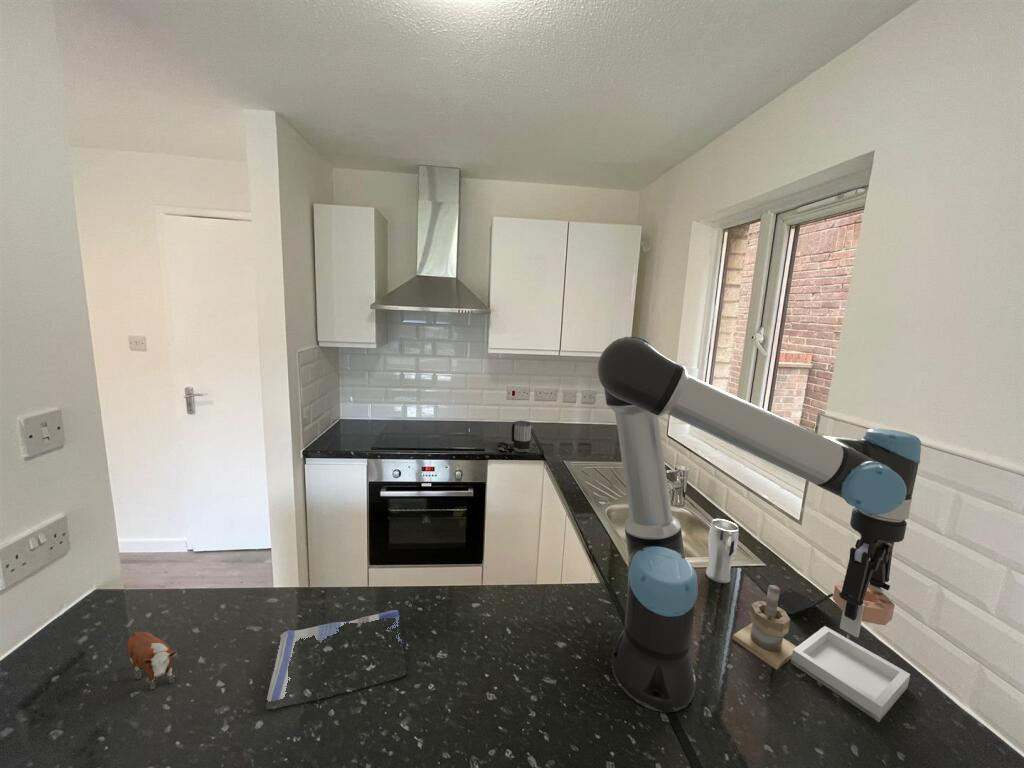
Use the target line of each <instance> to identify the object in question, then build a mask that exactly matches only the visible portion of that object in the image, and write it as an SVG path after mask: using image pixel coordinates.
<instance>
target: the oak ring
mask: <svg viewBox="0 0 1024 768" xmlns="http://www.w3.org/2000/svg"><path fill="white" fill-rule="evenodd" d="M765 606H766V601H762V600H757V601H756V602H753V603H751V606H750V613H749V619H750V621H751V623H753V625H754V626H755V627H757V628H758V629H760V630H761V631H763V632H764V633H766V634H768V635H773V636H778V637H782V636H783V637H785V635H787V634H788V633H789V631H790V630H789V628H790V624H791V623H790V622H791V618H790V617H788V615H787V613H786V612H785V611H784V610H783V609H781V608H779V607H778V606H777V611H776V618H770V617H768V616H766V615H765V614H764V612H765Z"/></svg>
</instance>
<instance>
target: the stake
mask: <svg viewBox="0 0 1024 768" xmlns="http://www.w3.org/2000/svg"><path fill="white" fill-rule="evenodd" d="M780 592H781V589H780V588H779V586H777V585H773V584H768V587H767V595H766V601H765V602H766V606H765V612H764V614H765V615H766V616H768V617H770V618H776V611H777V605H778V599H779V594H781V593H780ZM732 640H733V641H734V642H737V643H738V644H739V645H741V646H742V647H743V648H745V649H746V650H748V651H749V652H750V653H752V654H753V655H755V656H757V658H759V659H760V660H762V661H763V662H765V663H766V664H767V665H769V666H770V667H772V668H773V669H774V670H778V669H780V668H781V667H782V666H784V665H785V664H786V663H788V662H789V661H791V658H792V652H793V649H795V648H796V647H797V646H798V645H795V644H793V643H791V641H789V640H787V639H785V638H784V636H782V637H778V636H773V635H768V634H766V633H764V632H763V631H761V630H760V629H758V628H757V627H755V626H754V625H753V623H752V622H751V623H749V624H748V625H746V626H745V627H743V628H742V629H740V630H739V631H738V630H737V632H735V633H734V634H732Z"/></svg>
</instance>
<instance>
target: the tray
mask: <svg viewBox="0 0 1024 768" xmlns="http://www.w3.org/2000/svg"><path fill="white" fill-rule="evenodd" d="M796 646H797V647H796V648H795V649H793V652H792V658H791V659H790V663H791V664H792V665H793V666H795V667H796V668H797V669H799V670H800V671H802V672H804V673H806V675H808V676H810V677H811V678H812V679H814V680H815V681H817V682H818V683H820V684H821V685H823V686H825V688H828V689H829V691H832V692H833V693H835V694H836V695H837V696H840V697H841V698H843V699H844V700H845V701H847V703H850V704H851V705H853V706H854V707H855V708H857V709H859V710H860V711H862V712H863V713H864V714H866V715H868V716H869V717H871V718H872V719H873V720H875V721H877V722H878V723H880V721H881V720H883V718H884V716H886V715H887V713H888V712H889V711H890V710H891V708H892V707H893V706H894V705H895V703H896V702H897V701H898V699H900V698H901V696H902V695H903V694H904V692H905V691H906V690H907V689H908V687H909V682H910V678H911V673H909V672H907V671H906V670H904V669H902V668H901V667H898V666H897V665H895V664H894V663H891V662H890V661H888V660H886V659H884V658H882V657H881V656H880V655H877V654H876V653H874V652H872V651H870V650H868V649H866V648H865V647H863V646H861V645H859V644H858V643H856V642H854V641H852V640H851V639H849V638H847V637H845V636H844V635H842V634H840V633H839V632H837V631H835V630H833V629H832V628H830V627H827V626H826V625H824V626H823V627H821V628H820V629H818V631H816V632H814V633H813V634H812V635H810V636H809V637H808V638H807V639H805V640H804V641H803V642H801V643H800V644H799V645H796Z"/></svg>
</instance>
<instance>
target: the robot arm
mask: <svg viewBox="0 0 1024 768" xmlns="http://www.w3.org/2000/svg"><path fill="white" fill-rule="evenodd" d="M597 363H598V364H597V378H598V379H599V382H600V384H601V386H602V387H603V390H604V396H605V397H604V398H605V403H606V406H607V407H608V408H609V409H611V410H612V411H613V412H614V414H615V415H614V416H615V423H616V428H617V434H618V442H619V451H620V457H621V464H622V469H623V470H622V471H623V476H624V477H623V478H624V484H625V490H626V497H627V505H628V511H629V513H628V514H629V517H628V518H627V519H626V521H625V522H624V525H623V527H624V534H625V538H626V539H625V540H626V547H627V557H628V565H627V566H628V567H627V568H628V569H627V570H628V573H627V577H628V579H627V595H626V604H625V605H626V607H625V616H624V627H623V630H622V632H621V633H620V636H619V638H618V639H617V641H616V643H615V645H614V647H613V649H612V654H611V661H612V667H613V670H614V673H615V675H616V677H617V678H618V680H619V682H620V683H621V684H622V686H623V687H624V688H625V689H626V690H627V691H628V692H629V693H630V694H631V695H632V696H633V697H635V698H636V699H638V700H640V701H642V702H645V703H647V704H649V705H650V706H652V707H654V708H656V709H658V710H661V711H663V712H662V713H665V714H667V713H668V714H670V713H669V711H670V709H671V708H672V707H675V708H677V707H681V706H685V705H687V704H688V703H689V702H691V700H692V699H693V700H694V698H693V697H695V694H694V693H695V692H696V686H697V683H696V682H697V680H696V678H697V677H696V675H695V674H696V673H695V670H694V667H693V663H692V659H691V653H690V647H691V646H690V645H691V639H692V631H693V624H694V616H695V608H696V601H697V599H698V593H699V587H698V575H697V572H696V570H695V568H694V566H693V565H692V563H691V562H690V561H689V560H688V559H687V558H686V555H685V547H684V540H683V535H682V534H683V533H682V525H681V522H680V521H679V519H678V518H676V517H675V516H673V515H672V508H671V500H670V492H669V485H668V478H667V472H666V463H665V458H664V457H665V456H664V446H663V442H662V434H661V427H660V426H661V425H660V419H659V417H661V416H665V415H669V416H671V417H673V418H675V419H677V420H680V421H681V422H684V423H686V424H688V425H689V426H692V427H694V428H697V429H698V430H700V431H702V432H704V433H707V434H709V435H711V436H713V437H715V438H718V439H719V440H721V441H724V442H726V443H728V444H730V445H732V446H734V447H736V448H738V449H740V450H742V451H745V452H747V453H749V454H751V455H753V456H755V457H757V458H760V459H761V460H763V461H765V462H768V463H770V464H772V465H774V466H775V467H778V468H780V469H782V470H785V471H786V472H789V473H790V474H793V475H795V476H797V477H799V478H801V479H803V480H804V481H805V480H806V481H808V482H809V483H812V484H814V485H816V487H817V486H818V487H819V488H821V489H823V490H826V491H828V492H829V493H831V494H834V496H838V497H839V498H842V500H844V501H845V502H846V503H847V504H848V505H849V506H851V507H853V508H852V511H851V515H850V521H849V525H850V527H851V529H853V530H854V531H856V532H857V533H859V535H860V536H861V537H860V538H858V539H857V540H856V543H855V545H854V546H855V547H851V548H850V549H849V559H848V564H847V568H846V572H845V576H844V580H843V581H844V583H843V587H842V591H841V593H840V592H839V596H840V598H842V599H844V606H843V611H841V612H842V613H841V619H840V622H839V623H840V624H839V629H841V630H843V631H844V632H846V633H848V634H850V635H852V636H853V637H855V638H859V636H860V632H861V627H862V622H863V621H862V616H863V611H864V606H865V604H863V600H864V597H865V594H866V591H867V588H868V587H870V588H873V589H875V590H877V591H879V592H882V593H883V591H884V590H886V591H889V590H890V589H891V588H890V587H891V585H889V584H888V582H889V581H890V573H891V565H892V558H893V552H894V551H893V549H894V545H895V543H899V542H902V541H903V540H904V539H905V535H906V529H907V525H908V523H907V521H906V520H908V518H909V516H910V512H911V511H910V510H911V505H912V500H913V493H914V488H915V484H916V483H915V482H916V478H917V474H918V469H919V464H921V454H922V452H921V451H922V441H921V439H920V438H919V437H918V436H917V435H915V434H913V433H908V432H905V431H901V430H896V429H895V430H894V429H888V428H868V429H867V430H866V432H865V434H864V436H863V438H848V437H841V436H840V437H839V436H832V435H831V436H829V435H820V434H818V433H816V432H814V431H813V430H812V431H811V430H809V429H807V428H805V427H803V426H801V425H799V424H797V423H794V422H792V421H790V420H788V419H786V418H783V417H781V416H779V415H776V414H774V413H772V412H771V411H768V410H766V409H764V408H762V407H760V406H759V407H758V406H757V405H755V404H752V403H750V402H748V401H746V400H744V399H742V398H739V397H738V396H735V395H733V394H730V393H728V392H726V391H724V390H722V389H720V388H718V387H715V386H713V385H711V384H709V383H707V382H704V381H702V380H700V379H697V378H695V377H694V376H691V375H689V374H688V371H687V368H686V367H685V366H684V365H682V364H680V363H678V362H675V361H673V360H671V359H669V358H667V356H665V355H663V354H662V353H660V352H659V351H657V350H656V349H655V348H654V346H653V345H652V344H651V343H650V342H649V341H647V340H646V339H644V338H641V337H637V336H624V337H621V338H617V339H616V340H614V341H612V342H611V343H610V344H609V345H608V346H607V347H605V349H604V350H603V352H602V353H601V354H600V357H599V359H598V362H597ZM691 703H692V702H691Z"/></svg>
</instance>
